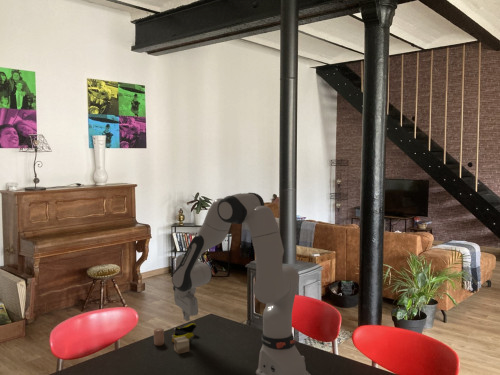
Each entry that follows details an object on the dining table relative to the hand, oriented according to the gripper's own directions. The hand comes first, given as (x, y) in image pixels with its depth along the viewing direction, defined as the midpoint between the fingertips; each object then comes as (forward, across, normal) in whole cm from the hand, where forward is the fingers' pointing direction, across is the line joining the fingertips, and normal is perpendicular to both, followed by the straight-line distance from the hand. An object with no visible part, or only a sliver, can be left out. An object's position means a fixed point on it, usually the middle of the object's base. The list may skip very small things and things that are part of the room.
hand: (186, 319), depth 207 cm
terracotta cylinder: (+9, +2, +12) cm, 15 cm away
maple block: (+9, -10, +6) cm, 15 cm away
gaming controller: (+10, +1, +1) cm, 10 cm away
